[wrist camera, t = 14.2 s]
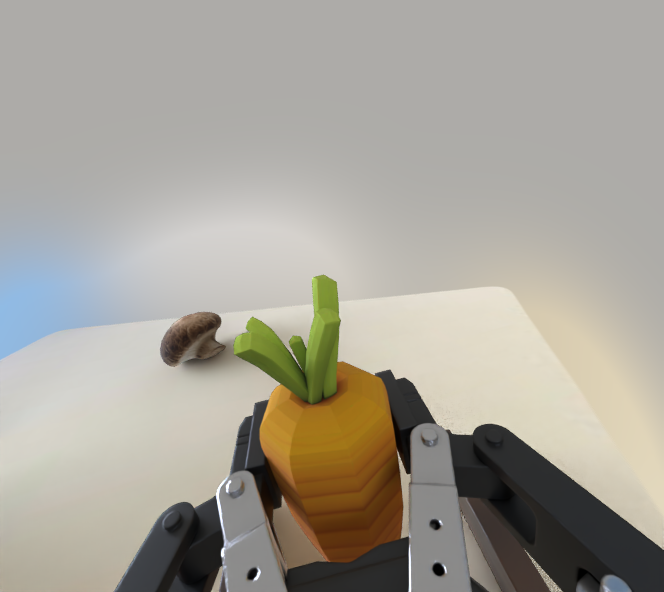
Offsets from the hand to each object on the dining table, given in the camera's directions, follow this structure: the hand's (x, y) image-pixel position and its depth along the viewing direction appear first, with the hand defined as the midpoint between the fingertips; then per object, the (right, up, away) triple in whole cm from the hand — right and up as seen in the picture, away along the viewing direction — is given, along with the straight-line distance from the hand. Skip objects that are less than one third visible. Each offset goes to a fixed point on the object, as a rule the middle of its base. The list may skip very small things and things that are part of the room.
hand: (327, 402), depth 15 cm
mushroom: (-16, -3, +25) cm, 30 cm away
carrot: (+2, -9, +1) cm, 9 cm away
